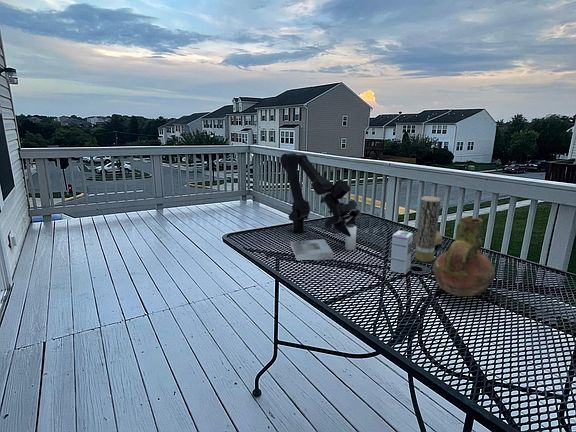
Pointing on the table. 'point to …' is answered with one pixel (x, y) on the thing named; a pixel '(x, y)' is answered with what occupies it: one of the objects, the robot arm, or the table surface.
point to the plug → (351, 237)
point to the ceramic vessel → (464, 262)
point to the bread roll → (438, 238)
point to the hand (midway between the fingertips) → (353, 235)
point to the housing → (311, 250)
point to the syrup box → (401, 251)
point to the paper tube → (427, 228)
